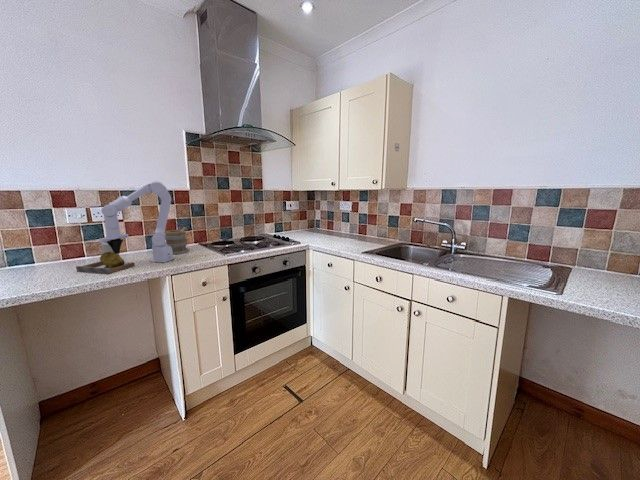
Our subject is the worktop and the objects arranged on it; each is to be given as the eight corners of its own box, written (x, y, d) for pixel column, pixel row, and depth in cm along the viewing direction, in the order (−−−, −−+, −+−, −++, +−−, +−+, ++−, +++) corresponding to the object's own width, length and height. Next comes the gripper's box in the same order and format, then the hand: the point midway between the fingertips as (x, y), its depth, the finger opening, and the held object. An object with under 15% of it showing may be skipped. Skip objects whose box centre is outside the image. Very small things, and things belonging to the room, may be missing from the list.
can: (111, 262, 147) (107, 241, 145) (100, 262, 149) (96, 241, 146) (123, 259, 154) (120, 239, 152) (112, 258, 156) (109, 238, 154)
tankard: (179, 255, 163) (177, 231, 160) (161, 254, 164) (158, 230, 162) (198, 248, 182) (196, 226, 180) (181, 247, 184) (179, 226, 181)
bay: (134, 266, 140) (134, 261, 140) (109, 274, 127) (108, 269, 127) (104, 264, 145) (103, 259, 144) (76, 271, 132) (75, 266, 131)
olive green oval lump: (106, 272, 130) (103, 256, 129) (100, 267, 138) (97, 252, 137) (126, 267, 136) (123, 252, 135) (119, 263, 145) (116, 249, 143)
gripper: (119, 226, 146) (123, 250, 149) (92, 230, 132) (96, 256, 135) (130, 226, 144) (133, 250, 147) (103, 230, 130) (107, 257, 133)
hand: (116, 253), depth 141 cm, fingers closed
